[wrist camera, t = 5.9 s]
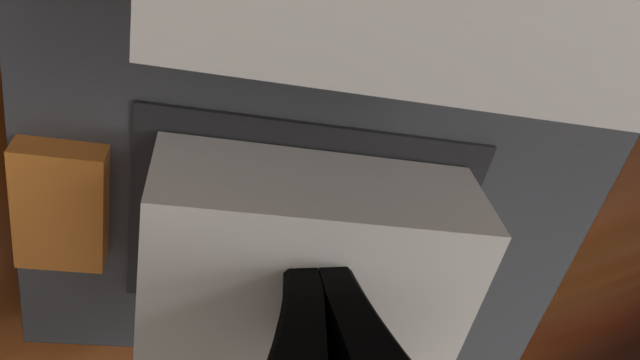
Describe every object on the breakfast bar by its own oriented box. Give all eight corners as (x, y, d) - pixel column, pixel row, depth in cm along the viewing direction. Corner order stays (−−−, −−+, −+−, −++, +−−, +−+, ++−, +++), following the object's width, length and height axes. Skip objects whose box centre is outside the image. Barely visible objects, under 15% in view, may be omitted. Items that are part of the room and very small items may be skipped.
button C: (469, 167, 15) (511, 237, 13) (419, 298, 17) (447, 377, 15) (158, 131, 13) (140, 202, 11) (149, 279, 16) (132, 364, 13)
